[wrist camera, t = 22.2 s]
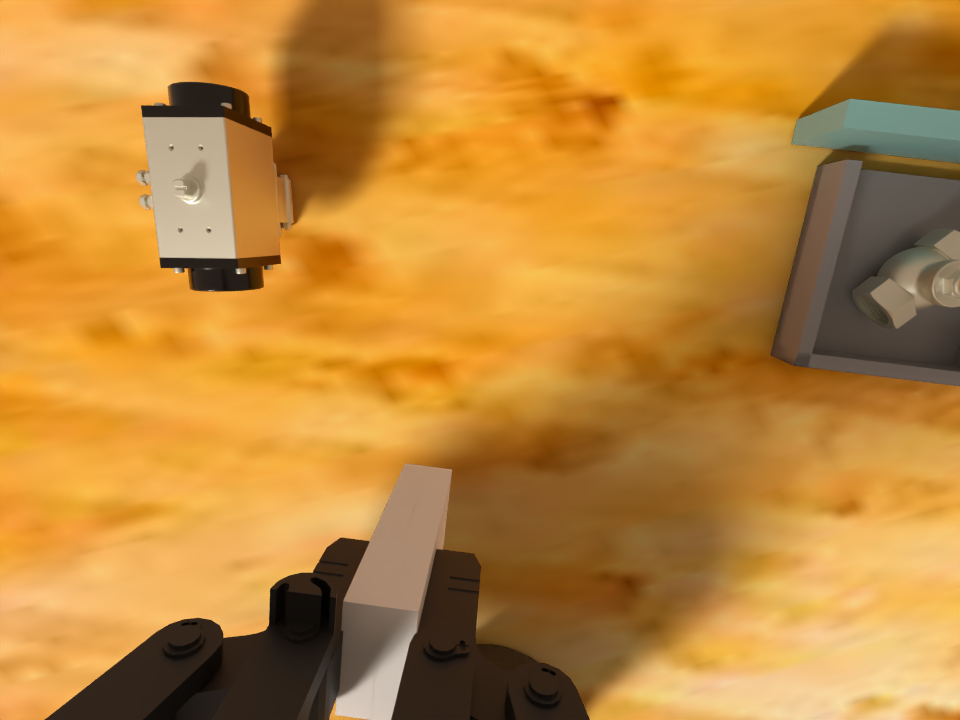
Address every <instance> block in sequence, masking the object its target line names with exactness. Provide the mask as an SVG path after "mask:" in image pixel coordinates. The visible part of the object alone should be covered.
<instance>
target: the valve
mask: <svg viewBox="0 0 960 720" xmlns="http://www.w3.org/2000/svg"><path fill="white" fill-rule="evenodd" d="M853 300H854V302H855V304H856V306H857V307H858V309H859V310H860V311H861V312H862V313H863V314H864V315H865V316H866V317H867V318H869V319H870V320H871V321H873V322H874V323H876V324H877V325H879V326H881V327H884V328H888V329H898V328H899V327H900V326H902V325H903V324H905V323H906V322H907V321H909V320H910V319H911V318H913V317H914V316H916V315H917V314H916V311H917V310H922V309H925V308H928V307H931V306H933V305H939V306H945V307H959V306H960V232H958V231H956V230H953V229H946V228H945V229H936V230H932V231H930V232H929V233H928V234H926V235H925V236H924V237H922V238H921V239H920V240H918V241H917V242H916V243H914V244H913V248H911V249H907V250H904V251H902V252H900V253H898V254H896V255H894V256H893V257H891V258H890V259H889V260H887V261H886V262H885V263H884V265H883V266H882V267H881V268H880V270H879V272H878V274H877V276H876V277H874V276H871V277H869V278H868V279H867V280H865V281H864V282H863V283H862V284H860V285H859V286H858V287H856V288H855V289H854V290H853Z"/></svg>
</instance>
